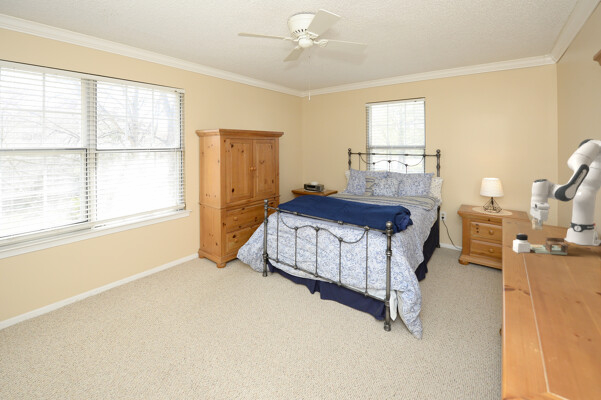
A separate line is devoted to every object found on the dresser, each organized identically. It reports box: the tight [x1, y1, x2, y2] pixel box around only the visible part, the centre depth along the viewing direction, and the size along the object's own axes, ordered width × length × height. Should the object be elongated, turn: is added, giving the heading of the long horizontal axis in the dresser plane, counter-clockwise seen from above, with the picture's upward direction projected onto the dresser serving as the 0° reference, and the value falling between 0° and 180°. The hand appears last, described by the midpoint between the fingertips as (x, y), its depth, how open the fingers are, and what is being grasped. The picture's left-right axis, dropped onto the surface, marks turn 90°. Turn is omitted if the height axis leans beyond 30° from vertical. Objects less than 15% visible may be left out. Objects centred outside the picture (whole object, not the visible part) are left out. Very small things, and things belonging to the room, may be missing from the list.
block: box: [531, 219, 544, 231], centre depth 200 cm, size 4×4×6 cm
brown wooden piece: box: [545, 236, 569, 254], centre depth 190 cm, size 9×7×8 cm
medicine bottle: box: [512, 233, 531, 254], centre depth 199 cm, size 7×7×12 cm
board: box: [530, 243, 568, 256], centre depth 198 cm, size 16×15×3 cm
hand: (537, 224), depth 200 cm, fingers closed on block, 4 cm apart
